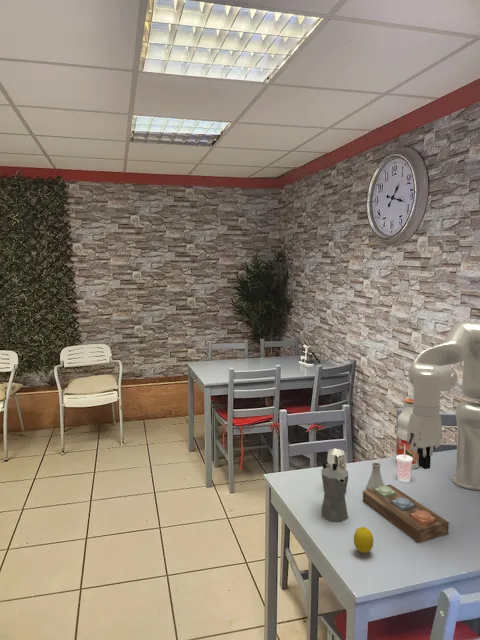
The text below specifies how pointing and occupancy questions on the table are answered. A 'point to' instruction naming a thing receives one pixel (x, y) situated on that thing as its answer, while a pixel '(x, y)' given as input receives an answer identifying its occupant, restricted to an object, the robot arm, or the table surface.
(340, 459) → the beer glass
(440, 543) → the table surface
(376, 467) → the flask
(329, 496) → the coffeepot
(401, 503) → the slate blue button
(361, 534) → the lemon
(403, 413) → the fruit juice
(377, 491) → the sage green button
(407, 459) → the beverage cup
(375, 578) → the table surface
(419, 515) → the terracotta button
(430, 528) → the button panel
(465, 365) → the robot arm
